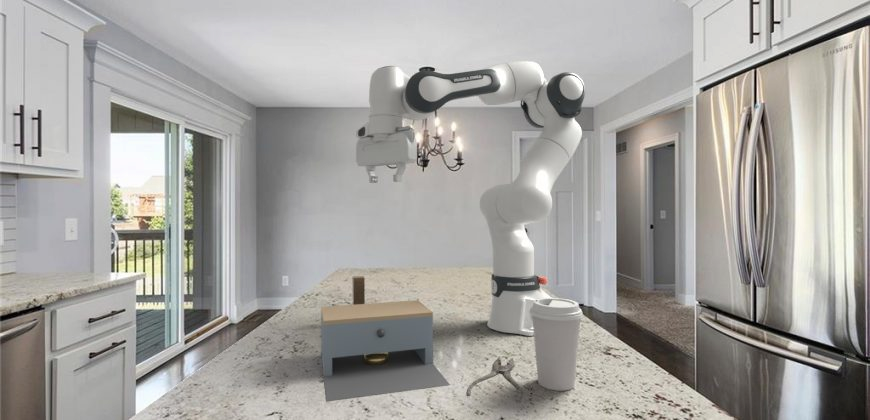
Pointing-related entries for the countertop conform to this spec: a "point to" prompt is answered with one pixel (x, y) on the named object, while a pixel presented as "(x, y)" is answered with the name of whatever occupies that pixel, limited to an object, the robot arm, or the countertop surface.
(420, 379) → the mat
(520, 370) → the countertop surface
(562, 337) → the coffee cup
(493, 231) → the robot arm
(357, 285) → the sweep tool
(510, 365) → the pliers
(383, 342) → the cabinet
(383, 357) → the token
